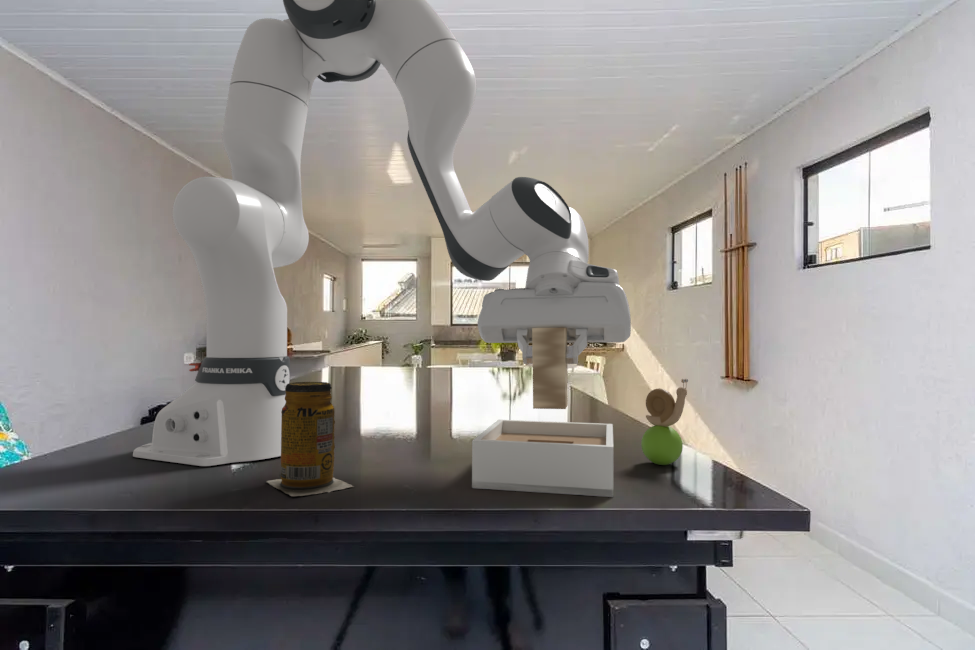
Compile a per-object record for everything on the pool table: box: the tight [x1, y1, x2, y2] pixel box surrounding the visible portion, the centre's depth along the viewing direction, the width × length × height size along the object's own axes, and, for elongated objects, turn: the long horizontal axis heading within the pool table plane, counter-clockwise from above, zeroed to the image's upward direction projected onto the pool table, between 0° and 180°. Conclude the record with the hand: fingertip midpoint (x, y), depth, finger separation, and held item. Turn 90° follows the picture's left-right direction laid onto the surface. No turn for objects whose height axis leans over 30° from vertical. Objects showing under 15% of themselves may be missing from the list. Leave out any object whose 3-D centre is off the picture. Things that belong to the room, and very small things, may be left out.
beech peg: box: [531, 328, 569, 410], centre depth 72 cm, size 4×4×10 cm
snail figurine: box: [640, 378, 689, 466], centre depth 78 cm, size 5×6×12 cm
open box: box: [471, 419, 614, 498], centre depth 72 cm, size 16×16×6 cm
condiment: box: [265, 381, 355, 497], centre depth 67 cm, size 7×8×12 cm
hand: (549, 360), depth 72 cm, fingers closed on beech peg, 4 cm apart
